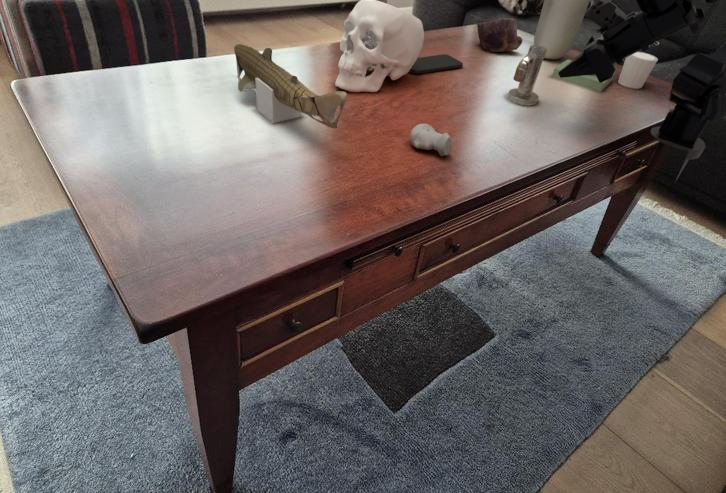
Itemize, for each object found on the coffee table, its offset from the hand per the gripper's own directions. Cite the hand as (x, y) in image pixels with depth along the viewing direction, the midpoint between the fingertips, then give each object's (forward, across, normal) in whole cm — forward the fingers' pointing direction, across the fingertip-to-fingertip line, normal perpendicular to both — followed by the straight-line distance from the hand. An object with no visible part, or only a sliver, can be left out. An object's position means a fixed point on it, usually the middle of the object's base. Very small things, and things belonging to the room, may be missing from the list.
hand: (559, 74), depth 90 cm
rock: (+22, -38, -8) cm, 45 cm away
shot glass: (-3, -38, +17) cm, 42 cm away
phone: (+28, -14, -14) cm, 35 cm away
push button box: (+5, -33, +9) cm, 34 cm away
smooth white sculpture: (+17, +25, -3) cm, 31 cm away
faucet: (+11, -9, +2) cm, 15 cm away
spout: (+6, -3, -3) cm, 8 cm away
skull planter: (+33, +3, -19) cm, 38 cm away
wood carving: (+36, +31, -22) cm, 52 cm away
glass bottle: (+12, -43, +2) cm, 45 cm away
